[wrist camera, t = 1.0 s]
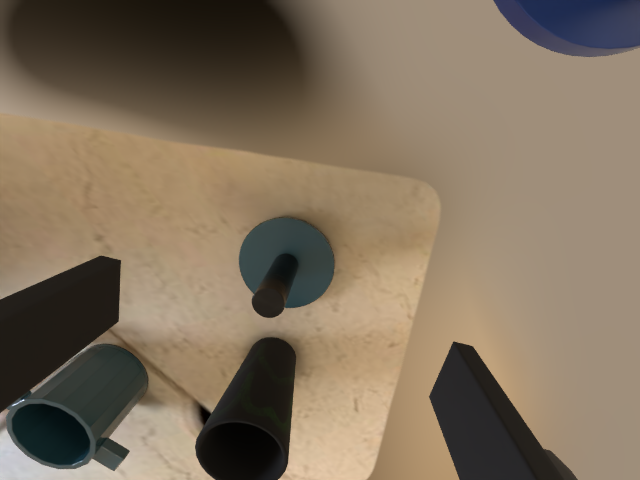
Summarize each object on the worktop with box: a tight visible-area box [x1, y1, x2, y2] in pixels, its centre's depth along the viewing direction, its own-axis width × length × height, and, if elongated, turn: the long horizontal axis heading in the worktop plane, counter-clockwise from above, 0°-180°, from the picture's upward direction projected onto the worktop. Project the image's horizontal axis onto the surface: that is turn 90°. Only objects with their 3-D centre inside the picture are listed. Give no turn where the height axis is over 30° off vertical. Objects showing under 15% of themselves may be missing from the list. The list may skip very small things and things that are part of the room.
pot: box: [6, 344, 148, 471], centre depth 34 cm, size 9×15×8 cm, turn 51°
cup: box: [195, 337, 296, 480], centre depth 30 cm, size 8×8×12 cm
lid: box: [239, 217, 334, 318], centre depth 27 cm, size 10×10×9 cm
